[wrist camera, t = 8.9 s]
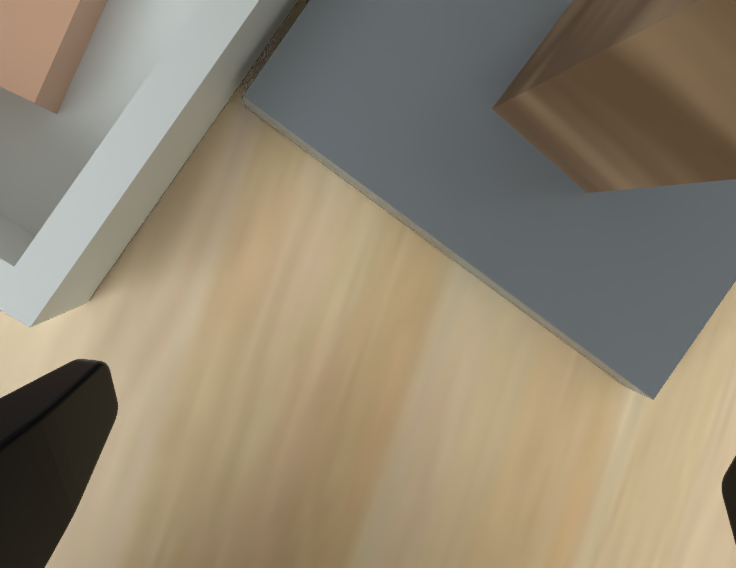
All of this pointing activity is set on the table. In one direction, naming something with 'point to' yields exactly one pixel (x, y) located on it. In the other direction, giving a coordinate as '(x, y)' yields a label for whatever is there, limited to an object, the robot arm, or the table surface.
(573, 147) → the walnut handle
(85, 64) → the box
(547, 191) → the slate board
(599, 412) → the table surface
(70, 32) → the tile in box
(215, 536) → the table surface
